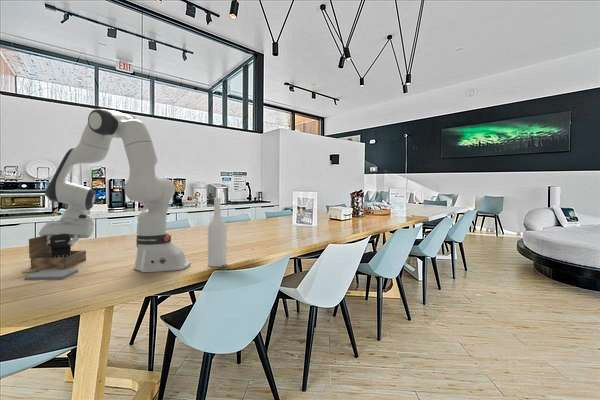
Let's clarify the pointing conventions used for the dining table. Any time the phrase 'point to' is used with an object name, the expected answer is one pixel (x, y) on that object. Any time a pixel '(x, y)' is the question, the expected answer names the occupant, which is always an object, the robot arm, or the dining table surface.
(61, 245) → the battery charger
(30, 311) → the dining table surface
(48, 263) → the wooden box
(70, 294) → the dining table surface
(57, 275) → the mat
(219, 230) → the bottle
